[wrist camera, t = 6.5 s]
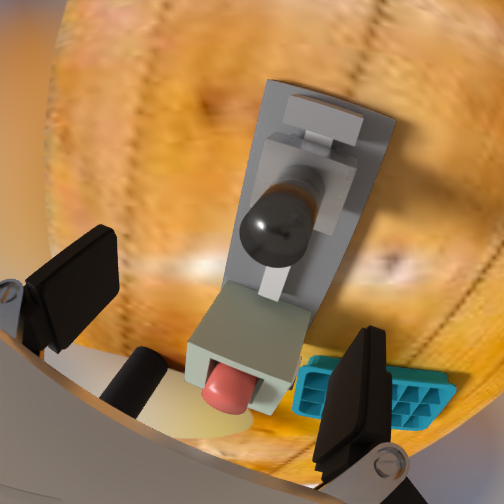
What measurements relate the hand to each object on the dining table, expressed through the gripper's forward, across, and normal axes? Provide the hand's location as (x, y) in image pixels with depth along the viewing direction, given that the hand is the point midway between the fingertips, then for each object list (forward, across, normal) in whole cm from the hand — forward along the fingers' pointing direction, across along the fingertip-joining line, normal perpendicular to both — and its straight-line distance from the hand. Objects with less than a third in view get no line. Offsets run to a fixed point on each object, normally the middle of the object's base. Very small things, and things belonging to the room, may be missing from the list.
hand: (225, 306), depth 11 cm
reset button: (+11, -1, +16) cm, 20 cm away
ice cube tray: (+18, -18, +23) cm, 35 cm away
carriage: (+16, -1, -1) cm, 16 cm away
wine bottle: (+19, +14, +37) cm, 44 cm away
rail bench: (+18, -1, +6) cm, 19 cm away
